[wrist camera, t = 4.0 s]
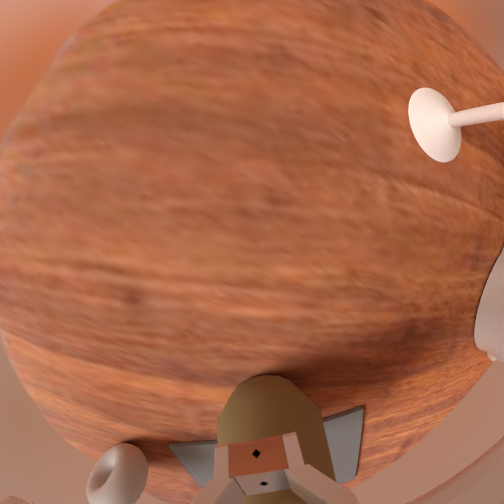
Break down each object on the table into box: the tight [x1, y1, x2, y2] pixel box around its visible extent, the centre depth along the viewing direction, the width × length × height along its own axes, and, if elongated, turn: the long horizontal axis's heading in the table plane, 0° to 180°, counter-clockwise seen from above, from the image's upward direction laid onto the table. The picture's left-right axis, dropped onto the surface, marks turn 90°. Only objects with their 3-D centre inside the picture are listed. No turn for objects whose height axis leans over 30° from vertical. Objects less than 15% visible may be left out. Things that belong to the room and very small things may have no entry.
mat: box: [168, 406, 364, 488], centre depth 24 cm, size 20×18×1 cm
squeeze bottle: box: [217, 375, 336, 504], centre depth 12 cm, size 8×8×18 cm
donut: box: [86, 443, 148, 504], centre depth 17 cm, size 10×4×10 cm, turn 132°
